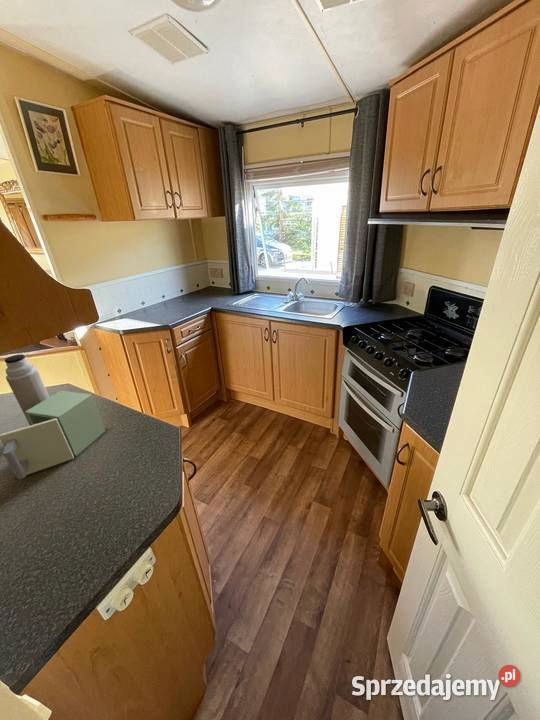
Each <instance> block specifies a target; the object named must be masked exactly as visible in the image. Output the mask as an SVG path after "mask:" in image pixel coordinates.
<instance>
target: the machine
mask: <svg viewBox="0 0 540 720" xmlns="http://www.w3.org/2000/svg"><path fill="white" fill-rule="evenodd" d="M25 413H26V415H27V417H28V419H29V421H30V423H31V425H34V424H38V423H41V422H45V421H48V420H52V419H55V418H57V420H58V422H59V425H60V427H61V429H62V431H63V433H64V436H65V438H66V440H67V442H68V445H69V447H70V449H71V451H72V453H73V456H74V457H77V456H78V455H79V454H80V453H82V452H83V451H84V450H85V449H87V447H89V446H90V445H91V444H92V443H93V442H95V441H96V440H97V439H98V438H99V437H101V435H103V434H104V433H105V432H106V429H105V425H104V423H103V420H102V417H101V415H100V413H99V410H98V406H97V405H96V402H95V399H94V397H93V394H92V393H91V394H90V393H83V392H76V391H75V392H74V391H68V390H67V391H66V390H59V391H58V392H56V393H54V394H52V395H50V396H49V398H47V399H46V400H44V401H42V402H41V403H39V404H37V405H36V406H34V407H32V408H31V409H29V410H27V411H25Z"/></svg>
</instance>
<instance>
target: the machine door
mask: <svg viewBox="0 0 540 720" xmlns="http://www.w3.org/2000/svg"><path fill="white" fill-rule="evenodd" d="M0 442H1V444H2V445H3V447H4V449H3V450H2V451H3V452H2V454H3V456H4V457H5V459H6V461H7V463H8V464H9V466H10V468H11V469H12V471H13V473H14V475H15V476H16V478H17V479H18V480H23V479H25V478H26V476H28V475H30V474H33V473H36V472H39V471H42V470H45V469H48V468H50V467H54V466H56V465H59V464H62V463H65V462H68V461H71V460H74V459H75V456H74V455H73V453H72V451H71V449H70V447H69V445H68V442H67V440H66V438H65V436H64V433H63V431H62V429H61V427H60V425H59V422H58V420H57V418H55V419H52V420H48V421H45V422H41V423H38V424H34V425H31V426H30V425H27V426H24V427H20V428H17V429H14V430H11V431H8V432H4V433H1V434H0Z"/></svg>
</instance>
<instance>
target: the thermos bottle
mask: <svg viewBox="0 0 540 720" xmlns="http://www.w3.org/2000/svg"><path fill="white" fill-rule="evenodd" d="M4 363H5V365H6V367H7V368H6V369H5V374H6V376H5V380H6V381H7V384H8V386H9V387H10V389H11V391H12V393H13V395H14V397H15V399H16V401H17V403H18V405H19V407H20V409H21V411H22V413H23V415H24V417H25V419H26V421H27V423H28V424H29V425H28V426H31V423H30V421H29V419H28V417H27V415H26V413H25V411H27V410H29V409H31V408H32V407H34V406H36V405H37V404H39V403H41V402H42V401H44V400H46V399H47V398H49V397H50V395H49V392H48V391H47V388H46V386H45V384H44V382H43V380H42V377H41V375H40V373H39V370H38V369H37V368H36V367H33V366H34V364H32V363H31V362H29V361H27V359H26V356H25V355H24V354H23V353H22V354H21V353H20V354H19V353H18V354H15V355H11V356H7V357H6V358H4Z"/></svg>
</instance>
